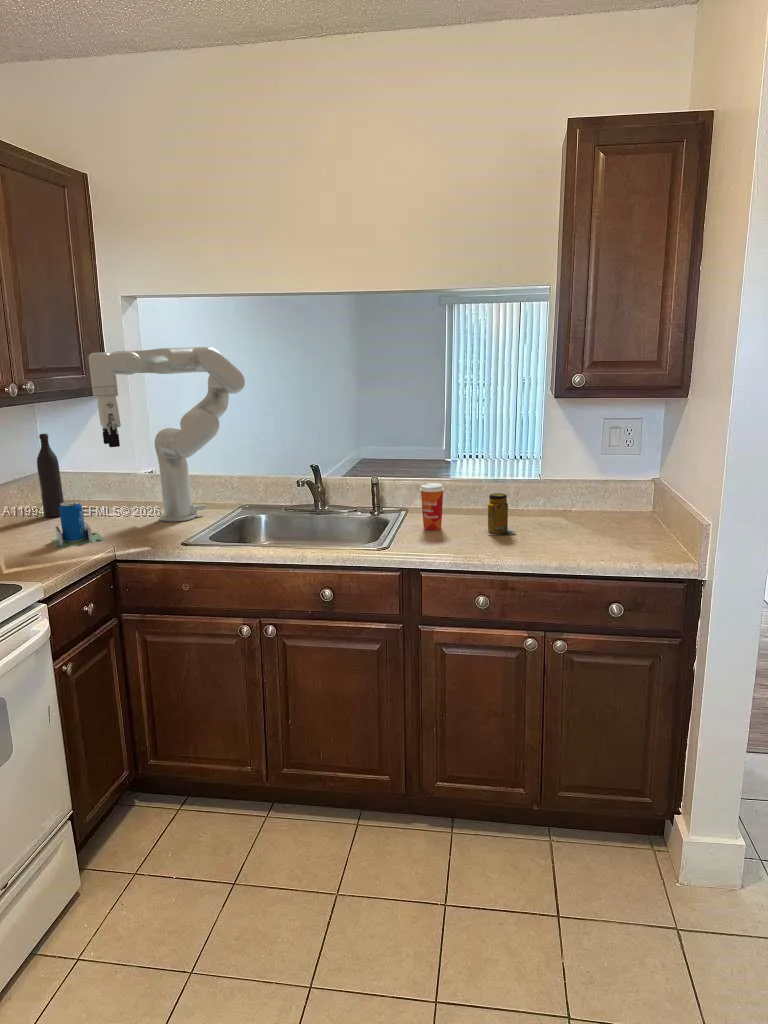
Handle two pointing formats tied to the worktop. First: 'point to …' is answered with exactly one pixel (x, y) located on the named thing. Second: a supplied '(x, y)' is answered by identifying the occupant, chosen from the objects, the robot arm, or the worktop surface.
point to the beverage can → (72, 521)
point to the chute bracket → (60, 535)
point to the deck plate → (95, 538)
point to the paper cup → (432, 505)
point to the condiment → (498, 515)
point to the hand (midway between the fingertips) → (111, 445)
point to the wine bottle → (49, 479)
